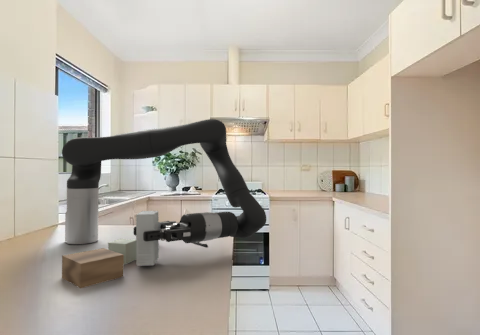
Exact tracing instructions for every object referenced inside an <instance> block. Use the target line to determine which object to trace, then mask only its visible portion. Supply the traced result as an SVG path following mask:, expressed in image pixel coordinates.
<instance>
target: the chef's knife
mask: <svg viewBox="0 0 480 335" xmlns="http://www.w3.org/2000/svg"><path fill="white" fill-rule="evenodd" d="M192 244H194V245H197V246H201V247H204V248H208V244H207V243H201V242H194V243H192Z"/></svg>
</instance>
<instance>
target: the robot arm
mask: <svg viewBox="0 0 480 335" xmlns="http://www.w3.org/2000/svg"><path fill="white" fill-rule="evenodd" d="M227 139H228V138H227V127H226V125H225V123H224V122H222V121H221V120H219V119H215V118H208V119H202V120H199V121H195V122H190V123H186V124H181V125H174V126H173V125H172V126H167V127H161V128H151V129H150V128H149V129H142V130H141V129H140V130H136V131H129V132H123V133H120V134H119V133H118V134H114V135H109V136H99V137H98V136H97V137H74V138H72V139H70V140H68V141H66V143H65V144H64V145H63V147H62V149H61V155H62V158H63V160H64V161H65V162H66V163H67V164H69V165H71V174H70V176H69V177H68V179H66V211H65V213H64V215H65V218H64V220H65V223H64V224H65V225H64V229H65V230H64V233H65V234H64V242H65V243H66V244H68V245H83V244H85V245H86V244H91V243H96V242H98V241H99V200H100V198H99V195H100V194H99V193H100V192H99V191H100V190H99V187H100V185H99V184H100V180H101V176H102V162H104V161H110V160H142V159H144V160H145V159H151V158H158V157H162V156H164V155H166V154H167V155H168V154H169V153H170V152H173V151H175V150H177V149H178V148H180V147H183V146H187V145H194V144H199V145H200V147H201V148H202V150H203V151H204V153H205V155H206V156H207V157H208V158H209V160H210V162H211V163H212V165H213V167H214V169H215V171H216V174H217V176H218V178H219V182H220V184H221V186H222V189H223V191H224V193H225V195H226V198H227V200H228V203H229V204H230V206H231V207H233V208H240V209H241V210H242V213H241V214H240V215H236V214H235V213H233V212H232V211H217V212H207V211H206V212H205V211H204V212H193V213H185V214H183V215H182V216H181V218H180V220H179V221H178V222H177V221H176V220H165V221H158V230H154V231H145V232H144V233H143V240H144V241H146V242H147V241H155V240H158V241H162V242H164V241H165V242H167V243H170V242H171V243H172V242H177V241H183V243H185V244H193V243H194V242H199V243H201V242H206V241H212V240H215V239H221V238H223V239H224V238H228V237H231V238H238V239H245V238H250V237H252V236H254V235H255V234H256V233H257V232H259V231H260V230H261V229H263V227H264V226H265V225H266V223H267V214H266V211H265V209H264V208H263V207H262V205H261V204H260V203H259V201H258V200H257V199H256V198H255V197H254V196H253V195H252V194H251V192H250V190H249V188H248V186H247V183H246V181H245V178H244V177H243V175H242V174H241V172H240V170H239V169H238V168H237V166H236V165H235V164H234V162H233V161H232V158H231V156H230V152H229V149H228V146H227ZM133 236H135V237H136V225H135V226H134V227H133Z"/></svg>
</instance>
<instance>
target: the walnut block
mask: <svg viewBox="0 0 480 335" xmlns="http://www.w3.org/2000/svg"><path fill="white" fill-rule="evenodd" d="M124 265H125V264H124V255H123V254H120V253H117V252H114V251H111V250H108V248H104V247H102V248H101V247H100V248H97V249H91V250H85V251H80V252H75V253H69V254H63V255H61V279H63V280H64V281H67V282H68V283H70V284H72V285H74V286H75V287H77V288H79V289H83V288H86V287H90V286H91V287H92V286H94V285H97V284H102V283H105V282H109V281H112V280H117V279H120V278H124V269H125V268H124Z"/></svg>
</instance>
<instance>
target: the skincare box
mask: <svg viewBox="0 0 480 335" xmlns="http://www.w3.org/2000/svg"><path fill="white" fill-rule="evenodd" d="M135 216H136V217H135V218H136V219H135V221H136V222H135V226H136V236H135V237H136V238H135V240H136V260H135V261H136V265H135V266H138V267H140V266H155V264H156V263H157V261H158V259H159V256H160V255H159V240H155V241H147V242H146V241H144V240H143V233H144V232H145V231H154V230H158V222H159V211H158V210H142V211H140V212H138V213H137V214H136V215H135Z"/></svg>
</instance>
